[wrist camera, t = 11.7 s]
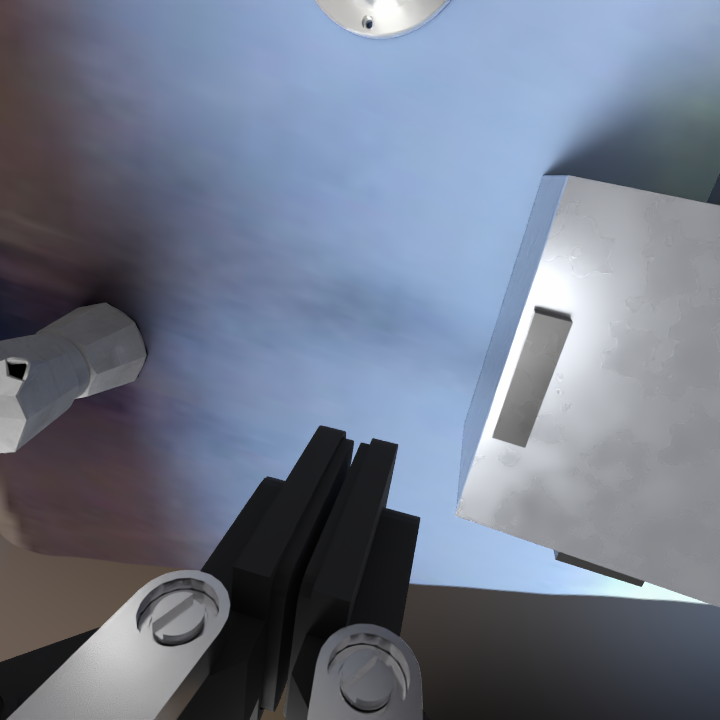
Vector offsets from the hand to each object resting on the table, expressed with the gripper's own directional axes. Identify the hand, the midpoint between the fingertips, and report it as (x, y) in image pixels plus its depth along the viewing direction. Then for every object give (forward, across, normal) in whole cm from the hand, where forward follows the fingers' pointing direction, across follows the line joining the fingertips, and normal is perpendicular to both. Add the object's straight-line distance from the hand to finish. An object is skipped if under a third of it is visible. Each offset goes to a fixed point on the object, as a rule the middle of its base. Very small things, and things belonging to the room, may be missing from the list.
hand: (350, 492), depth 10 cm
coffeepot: (+33, +33, +17) cm, 50 cm away
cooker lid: (+20, -16, +5) cm, 26 cm away
